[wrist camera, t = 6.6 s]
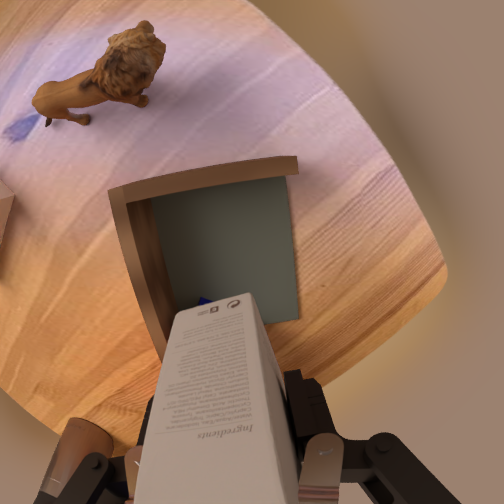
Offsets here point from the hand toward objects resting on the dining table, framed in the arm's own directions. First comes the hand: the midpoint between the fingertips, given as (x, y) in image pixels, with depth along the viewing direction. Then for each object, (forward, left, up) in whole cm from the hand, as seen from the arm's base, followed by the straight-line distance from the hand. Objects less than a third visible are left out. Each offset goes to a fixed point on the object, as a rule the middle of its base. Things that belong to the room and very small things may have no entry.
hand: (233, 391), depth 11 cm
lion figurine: (+18, +9, -16) cm, 26 cm away
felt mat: (+1, +1, -15) cm, 16 cm away
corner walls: (+1, +1, -15) cm, 16 cm away
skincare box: (0, 0, -4) cm, 4 cm away
